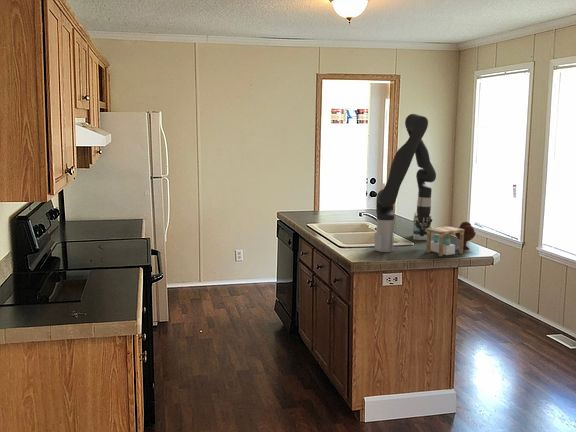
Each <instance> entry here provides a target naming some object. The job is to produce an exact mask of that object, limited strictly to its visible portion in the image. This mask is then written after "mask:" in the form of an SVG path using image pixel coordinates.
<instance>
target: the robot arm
mask: <svg viewBox="0 0 576 432" xmlns="http://www.w3.org/2000/svg"><path fill="white" fill-rule="evenodd" d="M404 125H405V128H406V131H407V134H408V136H409V137H408V139H407V140H406V142H405V143H404V144H403V145H401V146H400V148H398V149H397V151H396V153H395V155H394V156H393V159H392V162H391V165H390V168H389V175H388V178H387V181H386V183H385V185H384V188H383V189H381V190H380V191H378V192H377V194H376V232H375V233H374V249H373V250H374V251H376V252H378V253H379V252H380V253H391V252H393V251H394V235H395V211H394V204H396V201H397V199H398V198H397V197H398V193H399V191H400V189H401V188H400V187H401V185H402V183H403V181H404V179H405V176H406V175H407V172H408V171H409V168H410V166H411V163H412V161H413V158H414V155H415V159H416V164H417V167H418V168H419V169H418V170H417V172H416V174H415V177H416V183H417V187H418V193H417V200H416V201H417V202H416V203H417V204H416V212H417V218H416V219H415V220H414V219H412V220H413V221H412V222H413V225H414V224H415V225H416V227H417V228H419V235H420V236H424V234H425V229H426V228H428V227H429V225H430V224H431V225H432V222H433V218H431V219H430V218H429V217H430V216H429V214H430V213H431V211H432V209H431V207H432V187H431V186H428V185H427V184H426V183H434V182H435V181H436V179H437V172H436V170H435V168H434V166H433V164H432V163H431V159H430V158H431V157H430V155H429V154H430V153H429V150H428V147H427V146H426V144H425V143H424V140H423V137H424V135H425V133H426V131H427V129H428V127H429V119H428V118H427V117H426V116H424V115H420V114H418V113H417V114H416V113H411V114H409V115H407V116H406V118H405V121H404ZM424 223H425V224H424ZM426 225H427V226H426Z"/></svg>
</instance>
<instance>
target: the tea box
mask: <svg viewBox="0 0 576 432" xmlns="http://www.w3.org/2000/svg"><path fill="white" fill-rule="evenodd" d="M413 215H414V216H413V220H415V219H416V218H417V211H416V212H414V214H413ZM429 216H430V217H429V218H430V219H432V214H431V212H430V214H429ZM424 224H425V223H424ZM426 226H427V225H426ZM412 228H413V230H412V235H413V236H412V238H413V240H417V241H427V229H428V228H432V223H431V224H430V225H429V227H428V228H426V229H425V234H424V236H420V235H419V228H417V227H416V225H415V224H414V223H413V227H412Z"/></svg>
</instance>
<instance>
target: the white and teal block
mask: <svg viewBox="0 0 576 432" xmlns="http://www.w3.org/2000/svg"><path fill="white" fill-rule="evenodd" d="M439 236H440V234H437V233H433V240H431V248H430V252H432V253H433V252H434V253H437V254H439ZM450 239H451V240H452V236H451V237H447V236H446V235H444V241H443V256H444V255H445V256H449V255H456V244H453V243H451V244H450Z"/></svg>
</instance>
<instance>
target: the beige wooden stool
mask: <svg viewBox="0 0 576 432" xmlns="http://www.w3.org/2000/svg"><path fill="white" fill-rule="evenodd" d="M432 233H433V234H439V253H438V257H443V256H444V254H443V241H444V236H445V235H446V237H451V239H450V244H452V234H455V233H460V240H459V241H458V242H459V243H458V244H459V245H458V254H460V255H462V254H464V250H463V244H464V229H460V228H459V227H456V226H455V227H453V226H450V225H449V226H440V227H431V228H428V229H427V240H426V252H425V253H427V254H430V253H431V251H430V248H431V241H432Z"/></svg>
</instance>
